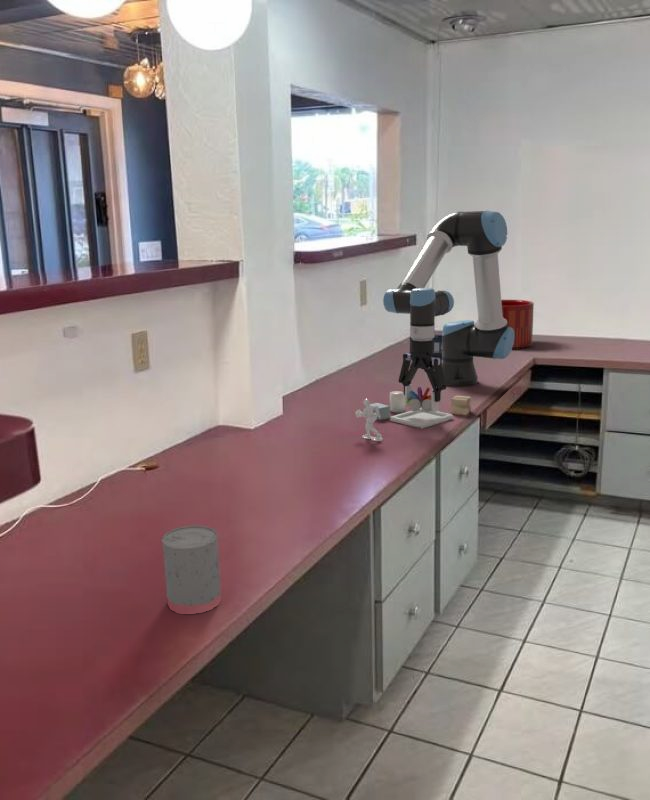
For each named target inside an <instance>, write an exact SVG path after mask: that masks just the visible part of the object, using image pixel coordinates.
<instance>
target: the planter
mask: <svg viewBox="0 0 650 800" xmlns="http://www.w3.org/2000/svg"><path fill="white" fill-rule="evenodd" d="M501 303H502V316H503V318H505V319H506V320H507V325H508V327H511V328H513V330H514V334H515V336H514V343H513V347H512V350H516V349H515V348H521V349H525V347H526V348H528V347H530V346H532V344H533V333H534V330H533V329H534V328H533V327H534V309H535V308H534V305H535V304H534V302H533V301H530V300H524V299H523V300H522V299H501Z"/></svg>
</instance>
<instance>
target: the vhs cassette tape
mask: <svg viewBox="0 0 650 800" xmlns="http://www.w3.org/2000/svg"><path fill="white" fill-rule="evenodd" d="M411 339H412V338H411V337H410V336H409V341H410V340H411ZM433 339H434V351H433V356H434V358H441V359H442V334H435V337H434V338H433ZM409 353H410V354H411V351H410V350H409Z"/></svg>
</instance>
